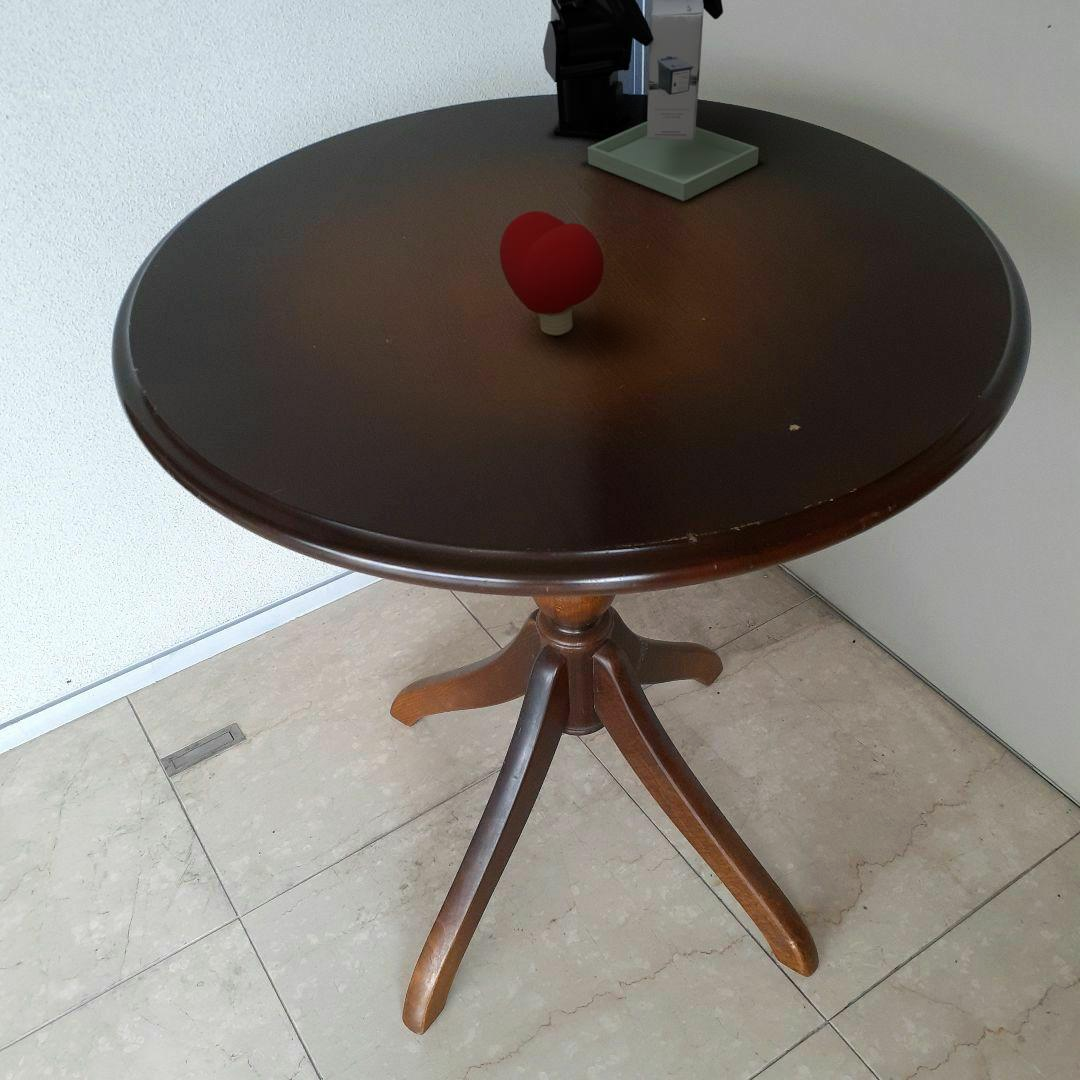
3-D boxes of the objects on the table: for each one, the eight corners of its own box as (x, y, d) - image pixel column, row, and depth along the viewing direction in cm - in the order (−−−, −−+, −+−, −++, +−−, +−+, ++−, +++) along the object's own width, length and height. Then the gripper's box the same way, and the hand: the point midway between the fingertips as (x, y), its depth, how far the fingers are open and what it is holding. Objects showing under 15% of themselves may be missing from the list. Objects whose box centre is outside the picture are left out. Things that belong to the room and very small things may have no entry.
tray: (588, 163, 110) (587, 147, 108) (660, 131, 114) (660, 114, 113) (683, 201, 101) (683, 184, 100) (757, 164, 106) (758, 147, 105)
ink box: (648, 106, 107) (649, -16, 99) (697, 105, 107) (702, -18, 98) (646, 141, 101) (647, 14, 93) (698, 140, 101) (704, 12, 92)
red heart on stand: (488, 335, 86) (473, 224, 80) (544, 300, 90) (535, 190, 83) (571, 372, 81) (562, 257, 75) (627, 333, 85) (624, 220, 78)
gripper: (562, -169, 84) (655, 3, 85) (721, -210, 92) (804, -52, 93) (512, -75, 94) (596, 77, 96) (659, -120, 102) (735, 22, 103)
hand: (685, 29), depth 97 cm, fingers closed on ink box, 9 cm apart
